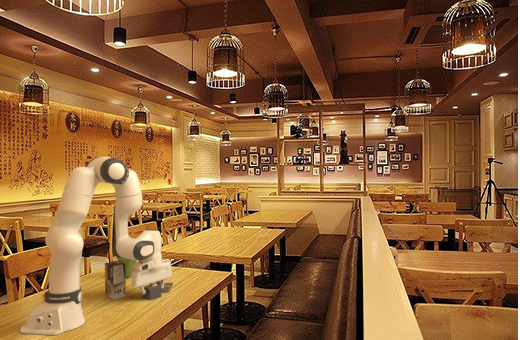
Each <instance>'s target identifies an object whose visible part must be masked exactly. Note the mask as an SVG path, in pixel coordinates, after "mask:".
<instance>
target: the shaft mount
mask: <svg viewBox="0 0 520 340" xmlns="http://www.w3.org/2000/svg"><path fill="white" fill-rule="evenodd" d="M151 284H157V285H160V284H161V280H160V281H156V282H153V283H149V284H148V285H151ZM173 285H174V282H165V283H164V288H162V289H161V294H162V293H165V294H166V293H170V291H171V289H172V288H173Z"/></svg>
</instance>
